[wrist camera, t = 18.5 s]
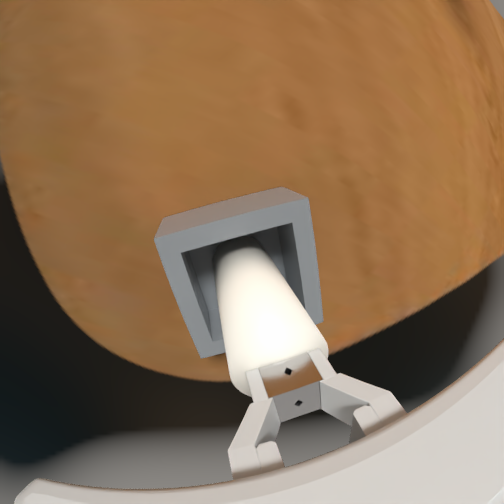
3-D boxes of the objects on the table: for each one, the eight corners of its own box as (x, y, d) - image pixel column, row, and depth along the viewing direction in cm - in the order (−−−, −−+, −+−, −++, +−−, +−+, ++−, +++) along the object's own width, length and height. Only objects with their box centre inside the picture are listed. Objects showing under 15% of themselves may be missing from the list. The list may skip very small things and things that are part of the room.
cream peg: (261, 229, 20) (326, 312, 10) (270, 278, 21) (329, 381, 11) (206, 243, 19) (217, 343, 9) (219, 291, 21) (242, 407, 11)
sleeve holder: (281, 186, 20) (308, 197, 15) (299, 289, 23) (323, 321, 19) (163, 217, 19) (153, 238, 14) (198, 319, 22) (201, 358, 18)
